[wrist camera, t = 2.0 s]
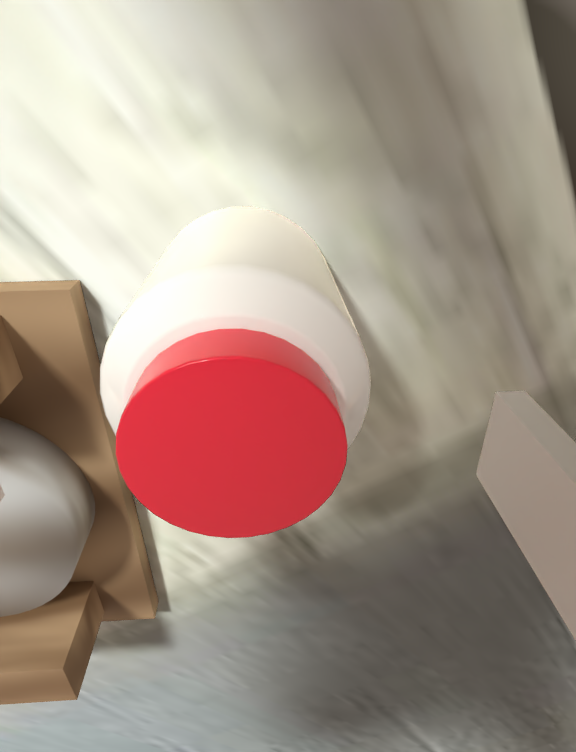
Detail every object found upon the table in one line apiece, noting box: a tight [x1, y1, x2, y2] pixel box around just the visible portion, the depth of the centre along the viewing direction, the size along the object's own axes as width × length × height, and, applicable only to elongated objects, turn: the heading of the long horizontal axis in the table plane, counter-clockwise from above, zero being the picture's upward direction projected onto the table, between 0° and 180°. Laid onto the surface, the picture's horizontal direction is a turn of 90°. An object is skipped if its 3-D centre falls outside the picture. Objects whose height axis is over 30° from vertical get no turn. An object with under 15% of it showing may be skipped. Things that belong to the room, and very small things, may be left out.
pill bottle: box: [100, 206, 371, 538], centre depth 16 cm, size 8×8×11 cm
